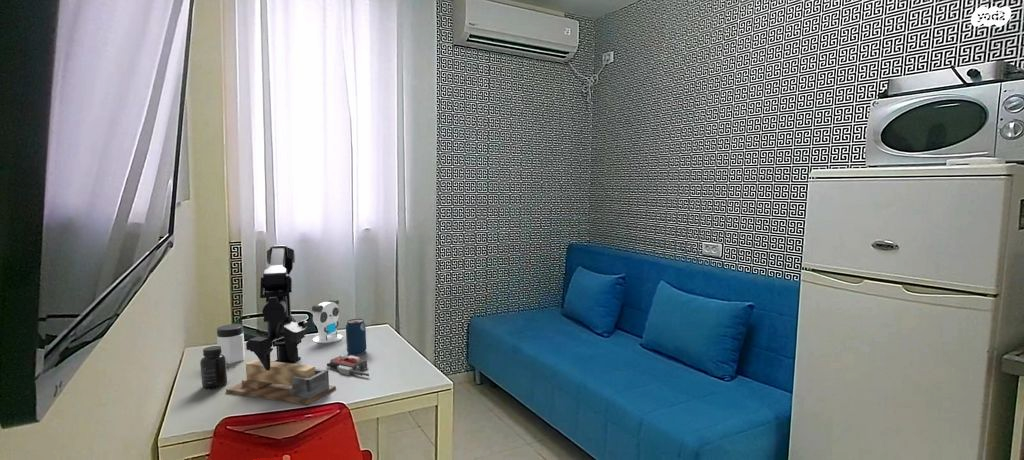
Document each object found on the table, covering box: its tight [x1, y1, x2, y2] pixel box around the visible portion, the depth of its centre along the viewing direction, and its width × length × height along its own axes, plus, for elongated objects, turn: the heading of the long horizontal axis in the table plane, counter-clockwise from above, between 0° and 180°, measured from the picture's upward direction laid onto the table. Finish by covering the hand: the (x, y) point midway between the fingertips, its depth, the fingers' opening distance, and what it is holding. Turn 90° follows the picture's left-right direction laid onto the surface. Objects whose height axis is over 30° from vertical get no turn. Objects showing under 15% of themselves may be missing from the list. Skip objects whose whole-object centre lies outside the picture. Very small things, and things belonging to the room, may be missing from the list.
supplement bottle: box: [199, 345, 228, 390], centre depth 158 cm, size 7×7×12 cm
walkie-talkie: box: [326, 354, 370, 377], centre depth 171 cm, size 9×4×20 cm
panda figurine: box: [311, 299, 343, 344], centre depth 206 cm, size 12×11×15 cm
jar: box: [216, 323, 246, 365], centre depth 182 cm, size 9×8×12 cm
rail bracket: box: [225, 368, 337, 406], centre depth 154 cm, size 30×12×6 cm, turn 71°
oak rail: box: [245, 358, 316, 386], centre depth 154 cm, size 22×4×5 cm, turn 72°
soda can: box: [345, 318, 367, 356], centre depth 188 cm, size 7×7×12 cm
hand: (279, 365), depth 153 cm, fingers open, 9 cm apart
